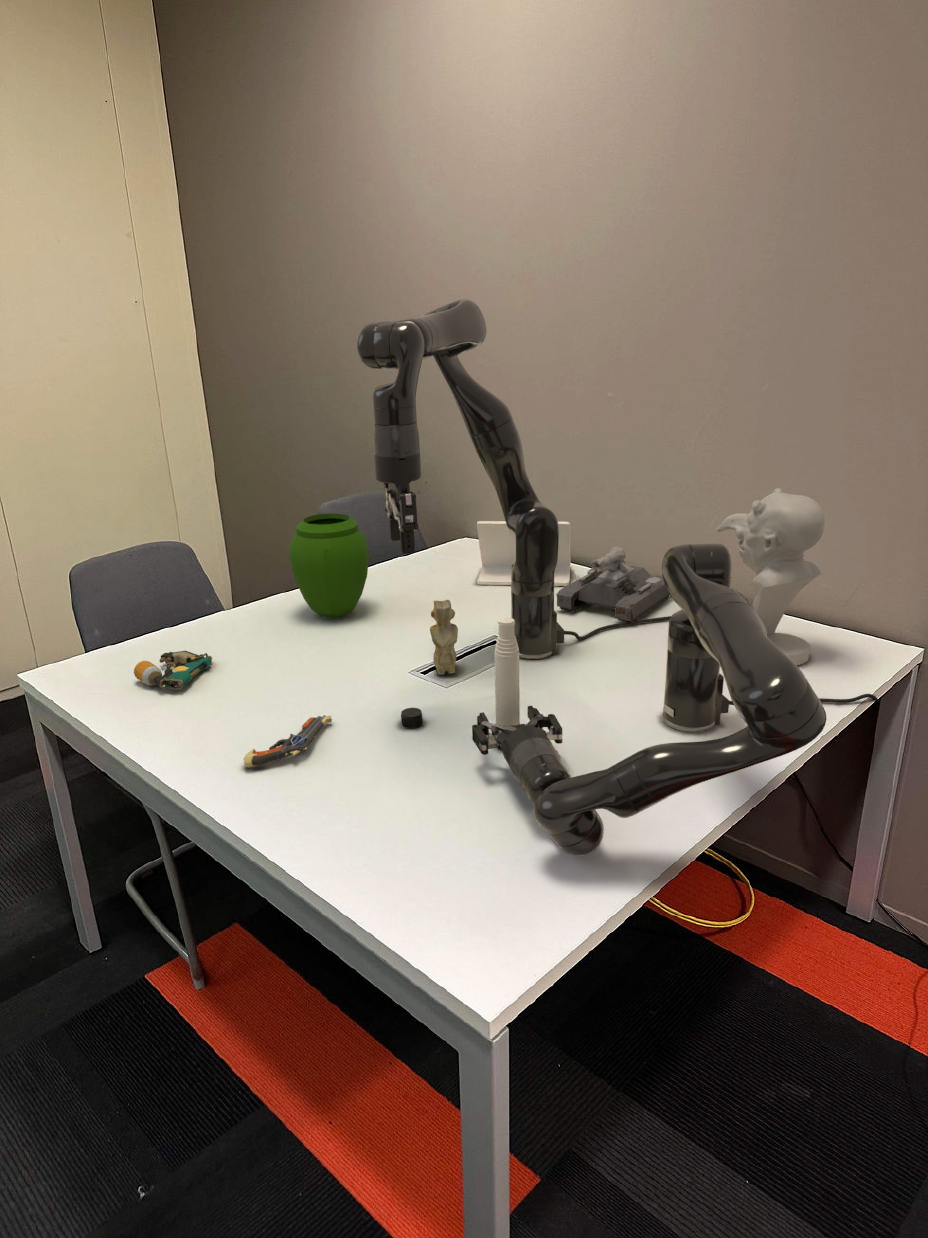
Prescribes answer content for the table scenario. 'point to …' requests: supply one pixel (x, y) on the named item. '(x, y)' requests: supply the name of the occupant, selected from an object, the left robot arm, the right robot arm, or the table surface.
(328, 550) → the vase
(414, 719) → the cap
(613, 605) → the toy
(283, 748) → the toy gun
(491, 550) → the tablet stand
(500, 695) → the bottle
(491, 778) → the table surface
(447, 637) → the sculpture
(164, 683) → the spray gun
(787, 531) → the bust sculpture
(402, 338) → the left robot arm
